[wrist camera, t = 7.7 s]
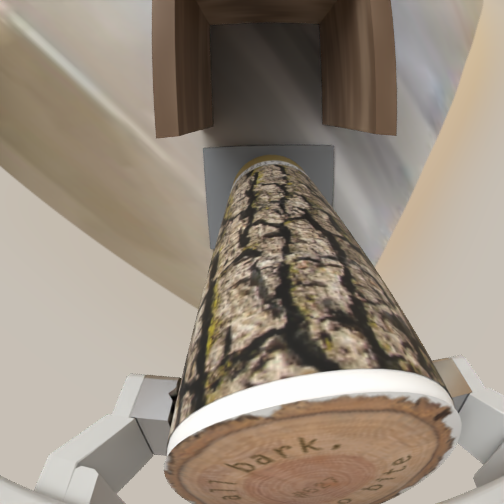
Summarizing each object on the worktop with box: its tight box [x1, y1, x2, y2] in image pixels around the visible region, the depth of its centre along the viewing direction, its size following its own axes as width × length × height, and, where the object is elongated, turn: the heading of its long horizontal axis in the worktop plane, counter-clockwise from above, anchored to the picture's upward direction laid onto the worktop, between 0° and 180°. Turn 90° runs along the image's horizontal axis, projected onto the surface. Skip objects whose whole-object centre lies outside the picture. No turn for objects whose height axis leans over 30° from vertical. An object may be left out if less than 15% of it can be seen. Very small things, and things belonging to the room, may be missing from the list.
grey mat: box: [203, 145, 334, 249], centre depth 31 cm, size 12×10×1 cm
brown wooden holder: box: [152, 0, 397, 138], centre depth 19 cm, size 12×11×14 cm
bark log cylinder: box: [164, 155, 462, 504], centre depth 17 cm, size 7×7×25 cm
